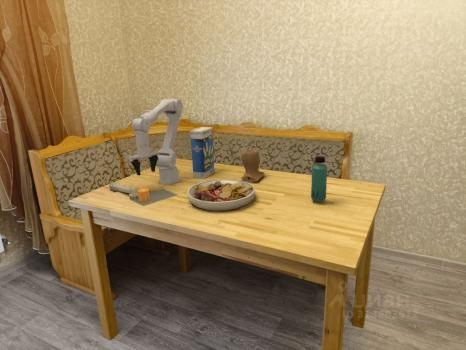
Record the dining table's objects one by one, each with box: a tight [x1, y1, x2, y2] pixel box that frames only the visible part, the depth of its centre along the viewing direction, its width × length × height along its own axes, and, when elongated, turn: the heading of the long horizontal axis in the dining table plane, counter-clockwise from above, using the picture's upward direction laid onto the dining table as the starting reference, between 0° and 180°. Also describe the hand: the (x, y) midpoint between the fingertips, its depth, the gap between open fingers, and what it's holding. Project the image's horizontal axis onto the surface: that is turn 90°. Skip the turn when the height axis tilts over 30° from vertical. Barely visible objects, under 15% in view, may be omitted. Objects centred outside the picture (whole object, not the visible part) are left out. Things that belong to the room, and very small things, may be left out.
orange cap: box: [137, 187, 151, 202], centre depth 149 cm, size 5×5×5 cm
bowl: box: [187, 178, 256, 212], centre depth 149 cm, size 30×30×8 cm
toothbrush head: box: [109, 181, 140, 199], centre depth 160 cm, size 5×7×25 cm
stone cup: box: [240, 149, 265, 183], centre depth 176 cm, size 15×12×15 cm
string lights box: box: [189, 126, 215, 179], centre depth 183 cm, size 13×8×26 cm, turn 159°
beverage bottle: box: [310, 155, 328, 202], centre depth 141 cm, size 6×7×20 cm
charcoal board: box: [129, 188, 178, 207], centre depth 153 cm, size 18×12×4 cm, turn 135°
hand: (146, 173), depth 157 cm, fingers open, 7 cm apart
